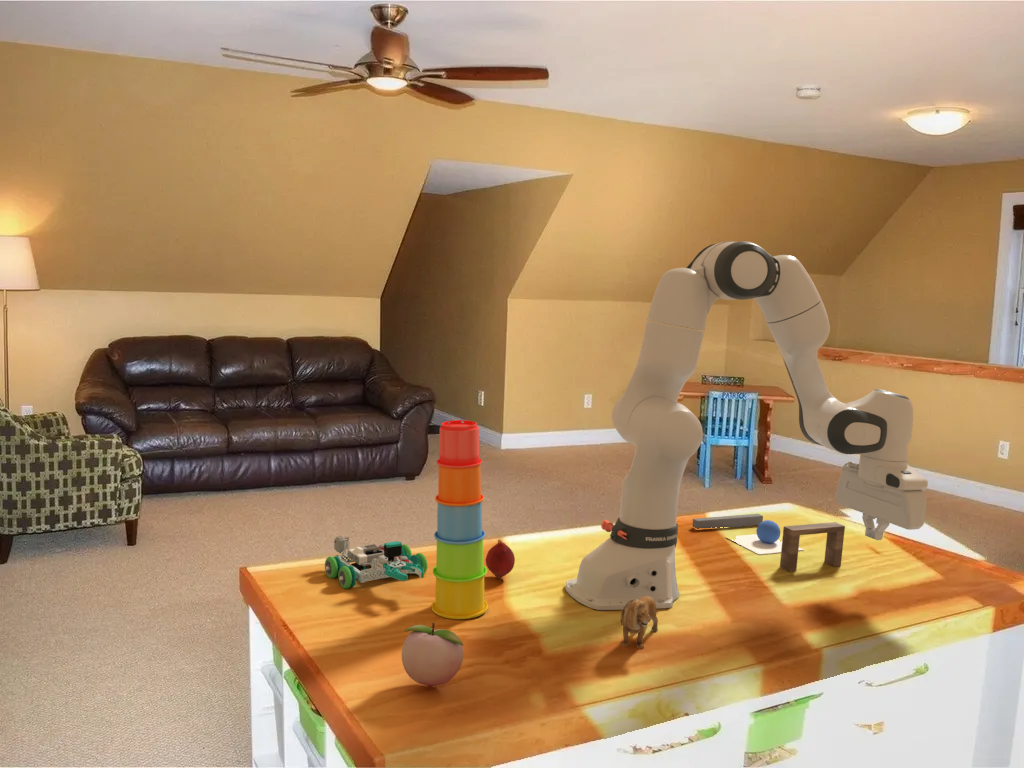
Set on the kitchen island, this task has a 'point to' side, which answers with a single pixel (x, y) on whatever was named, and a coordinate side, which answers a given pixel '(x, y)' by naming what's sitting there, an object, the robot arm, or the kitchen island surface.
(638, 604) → the lion figurine
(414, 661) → the decorative fruit
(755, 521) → the wall
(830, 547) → the bridge
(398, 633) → the kitchen island surface
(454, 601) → the stacking cups
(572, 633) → the kitchen island surface
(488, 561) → the onion
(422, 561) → the robot kit
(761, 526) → the ball
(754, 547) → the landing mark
